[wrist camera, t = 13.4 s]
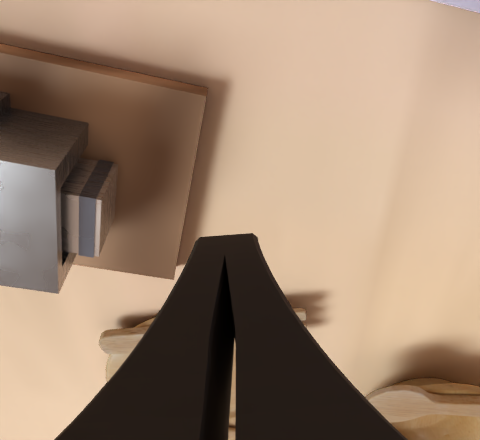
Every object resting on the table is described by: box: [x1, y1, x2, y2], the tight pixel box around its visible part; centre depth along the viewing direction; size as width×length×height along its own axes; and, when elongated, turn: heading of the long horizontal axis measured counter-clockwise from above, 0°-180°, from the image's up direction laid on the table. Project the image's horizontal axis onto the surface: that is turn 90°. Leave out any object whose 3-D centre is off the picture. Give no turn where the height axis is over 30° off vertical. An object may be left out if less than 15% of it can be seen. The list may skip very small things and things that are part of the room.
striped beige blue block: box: [60, 158, 118, 258], centre depth 17 cm, size 7×3×3 cm, turn 77°
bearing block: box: [0, 108, 88, 294], centre depth 17 cm, size 3×6×4 cm, turn 167°
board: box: [0, 43, 208, 280], centre depth 19 cm, size 15×10×1 cm
